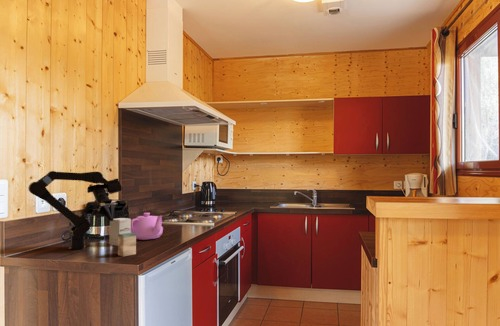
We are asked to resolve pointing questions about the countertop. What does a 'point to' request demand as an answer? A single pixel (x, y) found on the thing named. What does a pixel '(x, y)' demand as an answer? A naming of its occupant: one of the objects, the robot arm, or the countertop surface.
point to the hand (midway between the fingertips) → (112, 220)
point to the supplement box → (118, 229)
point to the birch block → (126, 244)
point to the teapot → (147, 226)
